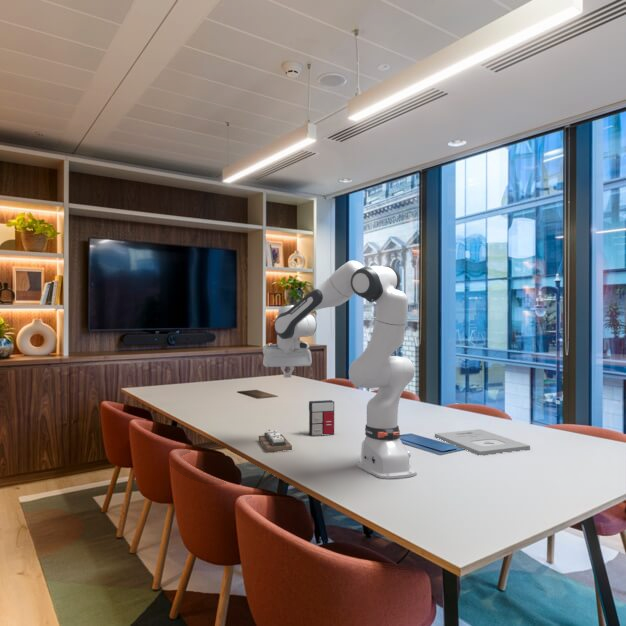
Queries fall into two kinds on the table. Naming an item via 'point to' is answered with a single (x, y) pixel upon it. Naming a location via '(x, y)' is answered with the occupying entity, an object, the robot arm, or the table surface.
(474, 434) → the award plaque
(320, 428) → the calculator
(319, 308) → the robot arm
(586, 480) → the table surface
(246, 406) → the table surface
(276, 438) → the key three
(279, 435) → the key one
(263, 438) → the key panel
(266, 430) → the key two
